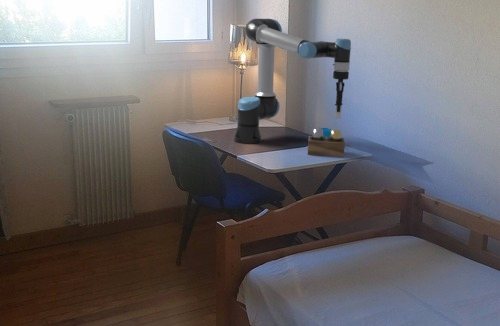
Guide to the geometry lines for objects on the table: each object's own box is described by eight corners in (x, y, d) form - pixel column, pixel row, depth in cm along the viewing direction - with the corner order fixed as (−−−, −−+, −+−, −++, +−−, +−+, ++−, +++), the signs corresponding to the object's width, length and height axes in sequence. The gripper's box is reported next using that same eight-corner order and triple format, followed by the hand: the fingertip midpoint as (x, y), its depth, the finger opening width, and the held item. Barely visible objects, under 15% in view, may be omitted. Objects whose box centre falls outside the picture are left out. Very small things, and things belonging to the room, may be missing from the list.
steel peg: (312, 140, 293) (313, 128, 291) (322, 141, 293) (323, 128, 291) (312, 143, 288) (313, 130, 286) (322, 143, 288) (323, 130, 286)
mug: (313, 143, 311) (314, 128, 309) (323, 141, 317) (324, 127, 314) (330, 147, 303) (331, 132, 301) (339, 145, 308) (341, 131, 306)
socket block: (307, 148, 298) (308, 135, 296) (342, 151, 296) (343, 137, 294) (307, 154, 286) (308, 140, 285) (343, 156, 285) (344, 142, 283)
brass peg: (329, 142, 292) (331, 129, 290) (339, 142, 292) (340, 129, 290) (330, 144, 287) (331, 131, 286) (340, 144, 287) (341, 131, 285)
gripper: (333, 69, 286) (329, 115, 293) (334, 71, 274) (330, 120, 280) (348, 69, 286) (344, 116, 292) (349, 72, 273) (345, 120, 279)
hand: (337, 118), depth 286 cm, fingers closed
